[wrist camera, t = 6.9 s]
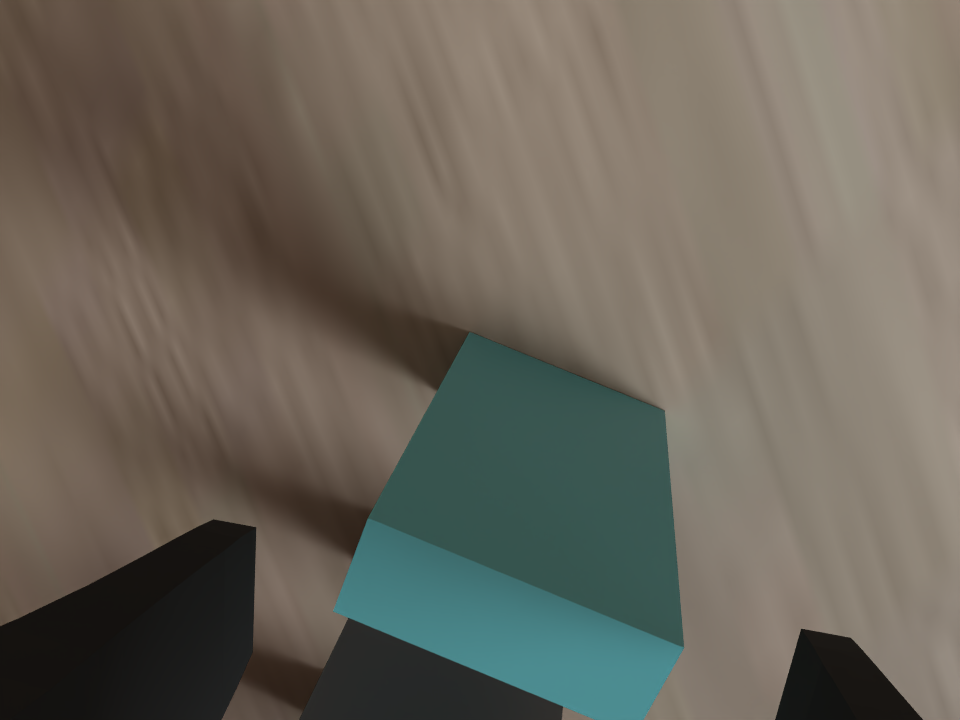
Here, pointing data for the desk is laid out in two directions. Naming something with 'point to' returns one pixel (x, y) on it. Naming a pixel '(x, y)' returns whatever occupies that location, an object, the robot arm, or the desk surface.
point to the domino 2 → (412, 685)
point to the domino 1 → (530, 536)
